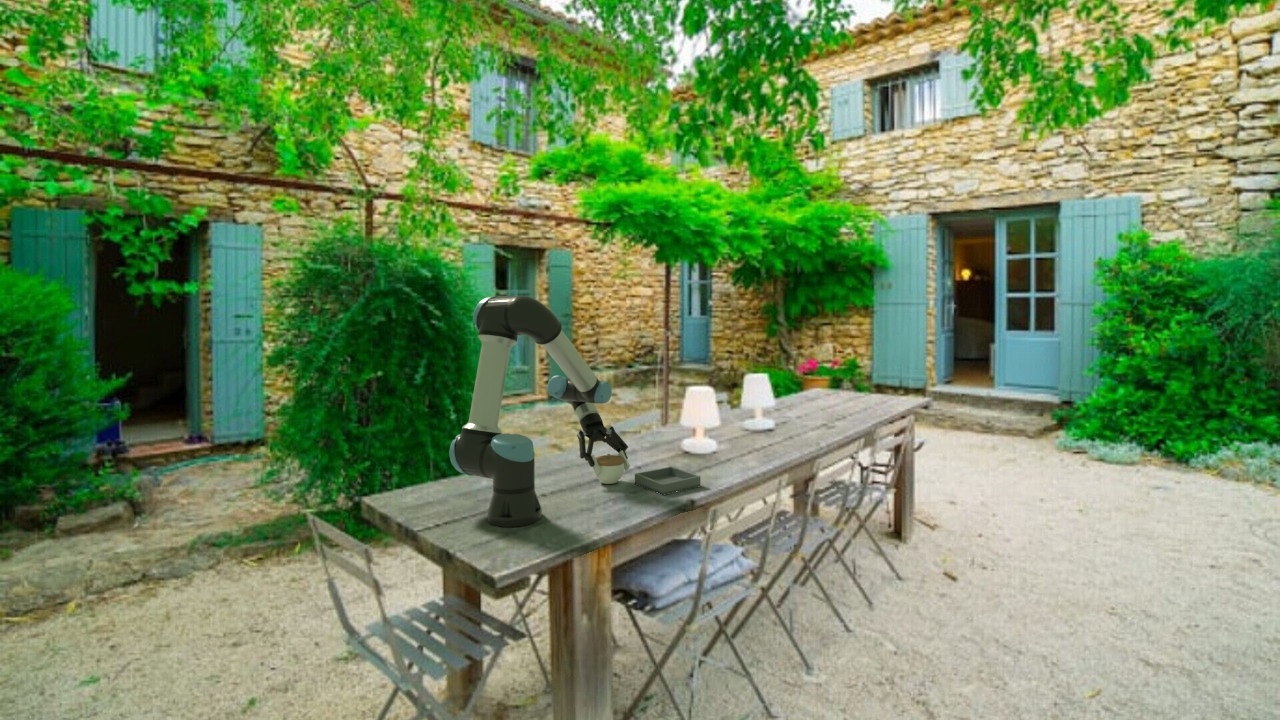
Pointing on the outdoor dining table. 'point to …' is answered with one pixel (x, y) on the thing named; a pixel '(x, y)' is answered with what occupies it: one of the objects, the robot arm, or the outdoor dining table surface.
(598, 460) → the lidded jar
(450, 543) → the outdoor dining table surface
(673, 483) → the bin
